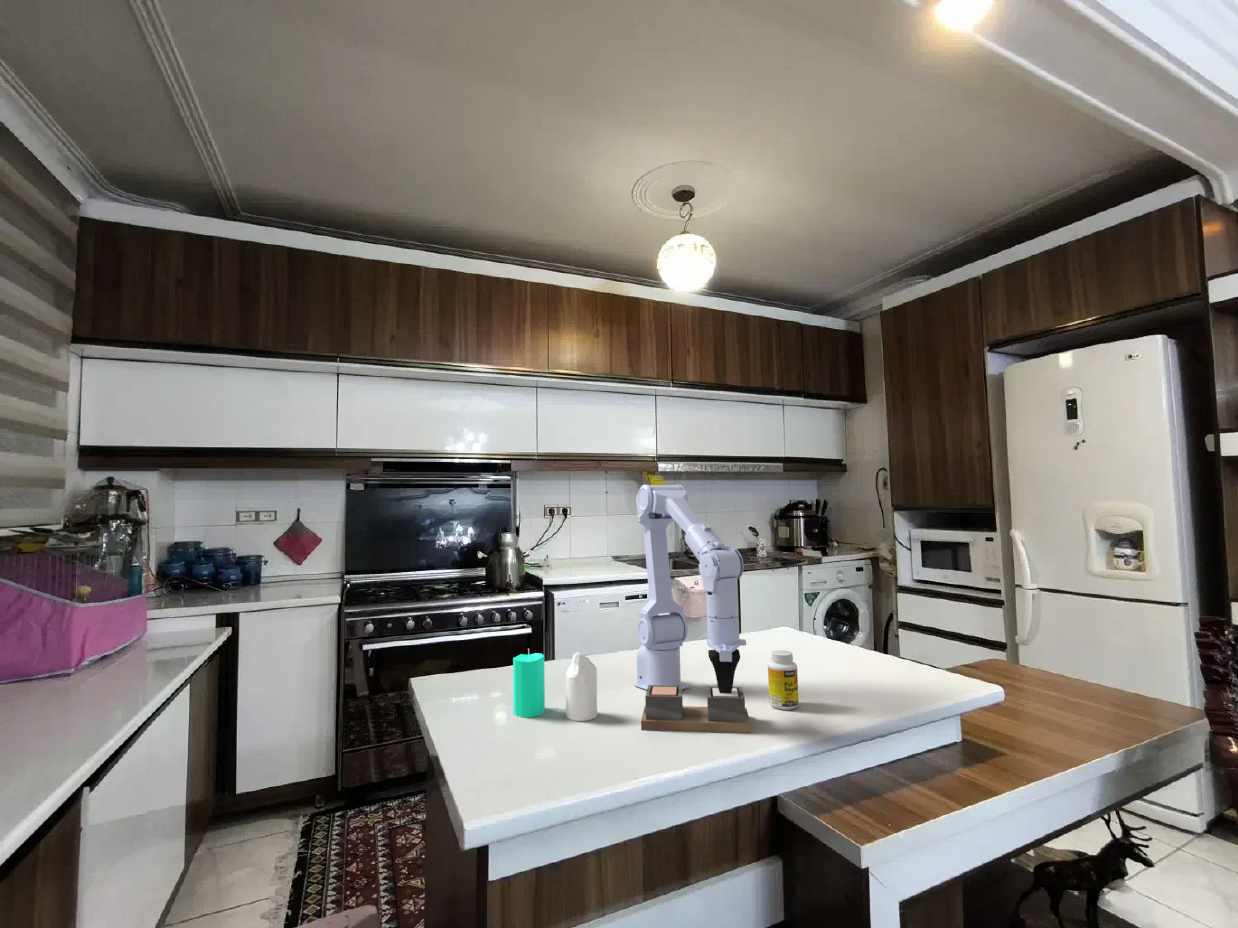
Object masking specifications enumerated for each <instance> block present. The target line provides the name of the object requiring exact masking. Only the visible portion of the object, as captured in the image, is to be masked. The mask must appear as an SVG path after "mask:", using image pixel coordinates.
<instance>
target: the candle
mask: <svg viewBox="0 0 1238 928" xmlns="http://www.w3.org/2000/svg"><path fill="white" fill-rule="evenodd" d="M527 651H528V653H527V654H523V653H522V654H521V653H520V654H519V655H516V656H515V657H513V658H512V662H513V664H512V672H513V674H512V678H513V679H512V680H513V682H512V683H513V684H512V686H513V690H512V691H513V694H512V695H513V698H512V699H513V705H512V706H513V714H514V715H515V716H516V715H517V716H516V717H519V716H520V718H533V717H538V716H541V715H543V714H544V713H545V711H546V706H545V705H546V701H545V697H546V696H545V695H546V694H545V655H544V654H543V653H539V652H538V653H537V652H535V653H532V654H531V653H530V648H527ZM540 714H541V715H540Z"/></svg>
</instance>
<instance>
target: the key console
mask: <svg viewBox="0 0 1238 928" xmlns="http://www.w3.org/2000/svg"><path fill="white" fill-rule="evenodd" d="M653 687H677V696H658V695H651V694H652V689H653ZM712 688H718V686H710V685H709V686H706V699H707V702H706V703H707V704H706V705H707V706H687V705H686V706H684V705H683V699H684V698H683V690H682V686H662V685H648V688H647V690H646V692H645V695H644V697H645V705H644V708H643V712H642V716H641V719H640V729H641V730H643V731H673V732H675V731H676V732H699V733H701V732H702V733H703V732H707V733H737V734H738V733H739V734H742V733H743V734H751V733H752V727H751V726H752V724H751V720H750V717H749V712H748V709H747V707H746V700H745V695H744V691H743V687H742V686H733V688H737V692H738V697H713V690H712Z"/></svg>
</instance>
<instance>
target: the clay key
mask: <svg viewBox="0 0 1238 928" xmlns="http://www.w3.org/2000/svg"><path fill="white" fill-rule="evenodd" d="M651 695H658V696H677V687H653V689H652V694H651Z"/></svg>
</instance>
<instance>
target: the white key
mask: <svg viewBox="0 0 1238 928" xmlns="http://www.w3.org/2000/svg"><path fill="white" fill-rule="evenodd" d="M712 690H713V697H738V692H737V688H732V692H731V693H720V692H719V689H718V688H712Z"/></svg>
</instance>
